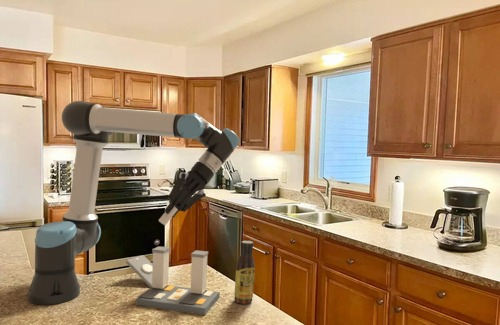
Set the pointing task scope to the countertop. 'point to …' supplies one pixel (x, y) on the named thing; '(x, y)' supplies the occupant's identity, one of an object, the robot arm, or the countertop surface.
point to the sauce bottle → (245, 274)
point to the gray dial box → (142, 268)
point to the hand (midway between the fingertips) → (161, 223)
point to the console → (178, 299)
